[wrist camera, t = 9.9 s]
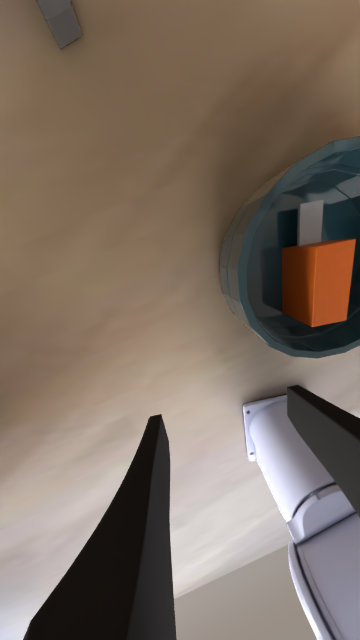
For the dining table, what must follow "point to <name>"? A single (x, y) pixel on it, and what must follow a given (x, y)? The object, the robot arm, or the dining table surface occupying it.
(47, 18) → the machine pistol
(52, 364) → the dining table surface
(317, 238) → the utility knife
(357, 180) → the bowl
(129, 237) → the dining table surface
